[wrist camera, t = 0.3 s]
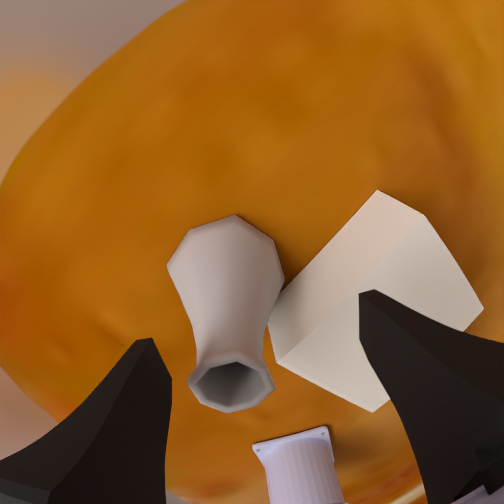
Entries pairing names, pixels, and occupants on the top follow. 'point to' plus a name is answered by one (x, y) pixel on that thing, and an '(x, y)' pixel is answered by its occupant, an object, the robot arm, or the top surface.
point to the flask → (228, 309)
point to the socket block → (360, 280)
